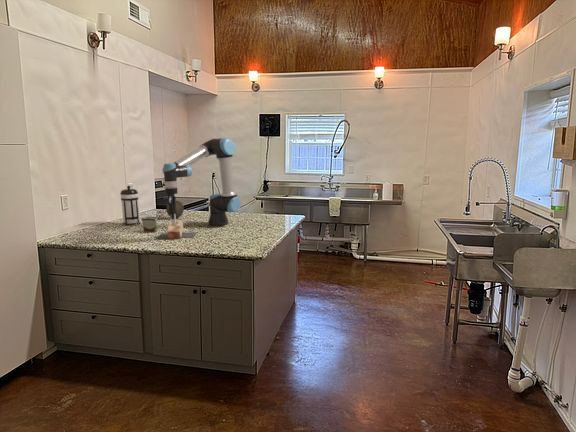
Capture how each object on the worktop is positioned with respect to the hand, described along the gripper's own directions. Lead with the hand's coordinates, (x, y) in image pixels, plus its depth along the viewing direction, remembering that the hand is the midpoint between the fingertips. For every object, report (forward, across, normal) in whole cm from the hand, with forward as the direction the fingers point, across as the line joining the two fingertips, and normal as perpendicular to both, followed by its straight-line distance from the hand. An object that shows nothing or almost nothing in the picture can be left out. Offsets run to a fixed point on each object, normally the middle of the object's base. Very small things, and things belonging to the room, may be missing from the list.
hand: (173, 223), depth 262 cm
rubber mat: (+10, -9, 0) cm, 14 cm away
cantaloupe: (+11, -73, -14) cm, 75 cm away
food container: (+11, -26, -21) cm, 35 cm away
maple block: (+8, 0, 0) cm, 8 cm away
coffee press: (+11, -53, -43) cm, 69 cm away
